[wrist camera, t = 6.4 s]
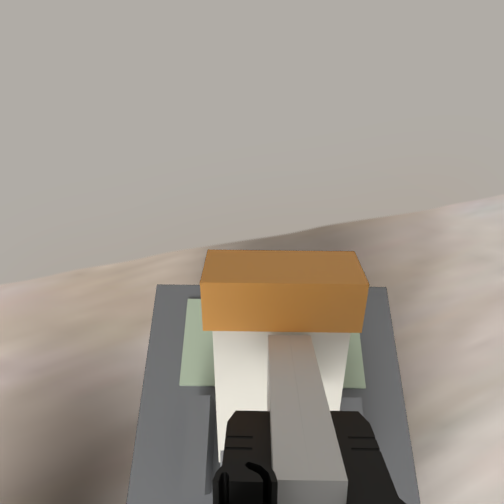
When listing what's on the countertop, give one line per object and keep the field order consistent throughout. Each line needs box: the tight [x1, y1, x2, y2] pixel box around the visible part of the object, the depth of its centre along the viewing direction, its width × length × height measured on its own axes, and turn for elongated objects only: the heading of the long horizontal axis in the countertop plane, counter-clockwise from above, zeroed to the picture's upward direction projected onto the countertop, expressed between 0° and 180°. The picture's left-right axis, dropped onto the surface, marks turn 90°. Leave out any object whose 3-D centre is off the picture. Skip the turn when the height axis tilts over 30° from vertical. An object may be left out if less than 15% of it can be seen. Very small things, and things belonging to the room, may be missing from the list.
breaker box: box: [126, 285, 420, 504], centre depth 25 cm, size 14×18×15 cm
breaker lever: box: [200, 250, 369, 467], centre depth 17 cm, size 6×2×11 cm
